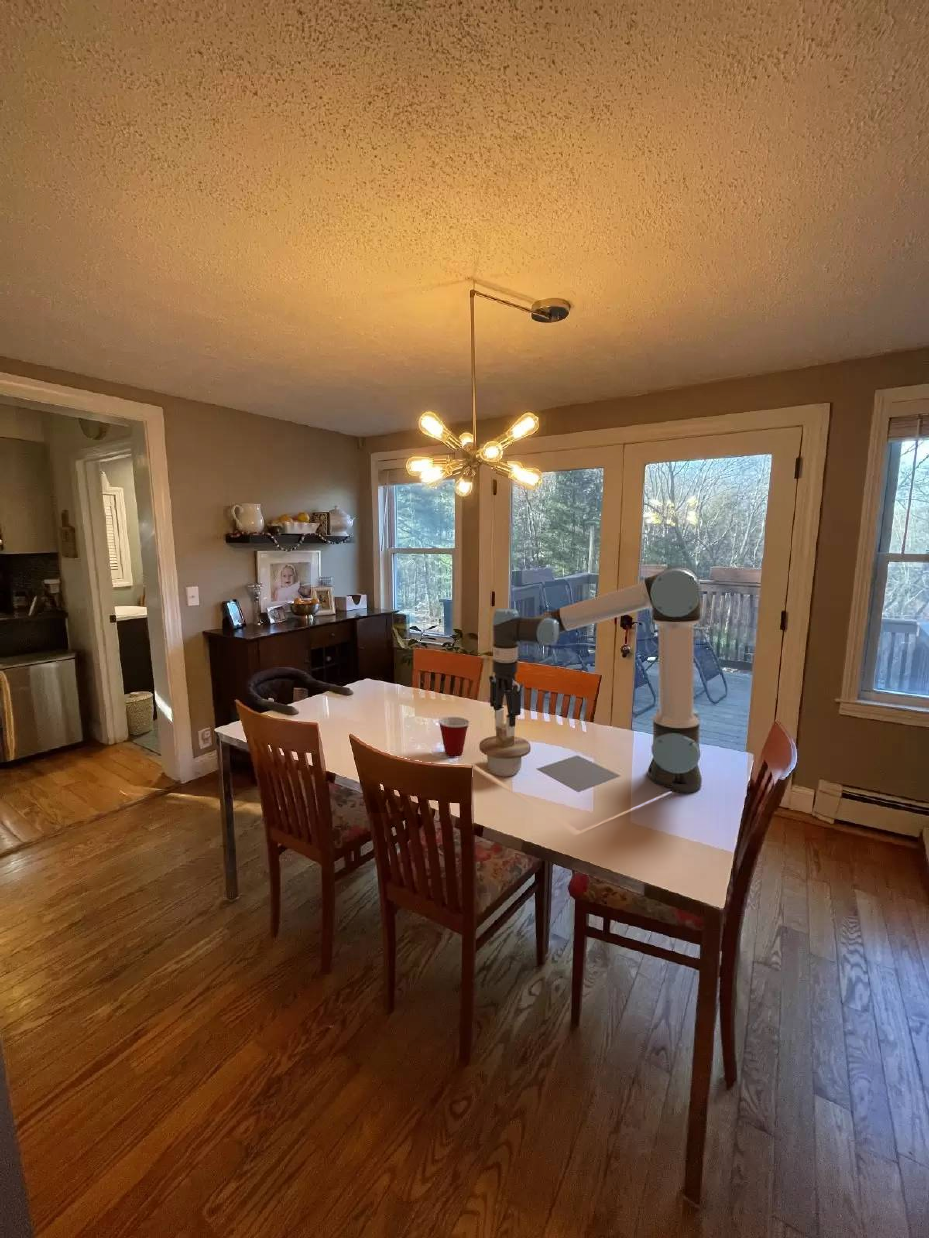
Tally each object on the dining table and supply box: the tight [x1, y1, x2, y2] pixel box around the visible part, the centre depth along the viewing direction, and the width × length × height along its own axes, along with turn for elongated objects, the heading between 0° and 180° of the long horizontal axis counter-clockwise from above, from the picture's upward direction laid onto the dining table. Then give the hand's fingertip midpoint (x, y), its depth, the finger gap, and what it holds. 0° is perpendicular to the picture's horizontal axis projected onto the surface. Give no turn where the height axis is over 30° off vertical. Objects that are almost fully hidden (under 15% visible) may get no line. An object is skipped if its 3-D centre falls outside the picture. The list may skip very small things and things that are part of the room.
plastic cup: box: [437, 716, 471, 758], centre depth 175 cm, size 11×11×12 cm
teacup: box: [486, 755, 522, 778], centre depth 162 cm, size 14×11×8 cm
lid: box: [478, 723, 532, 759], centre depth 161 cm, size 16×16×7 cm
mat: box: [536, 755, 621, 793], centre depth 159 cm, size 18×18×1 cm
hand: (504, 732), depth 161 cm, fingers open, 5 cm apart
